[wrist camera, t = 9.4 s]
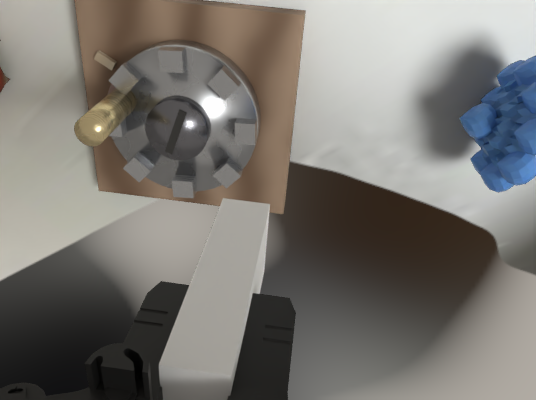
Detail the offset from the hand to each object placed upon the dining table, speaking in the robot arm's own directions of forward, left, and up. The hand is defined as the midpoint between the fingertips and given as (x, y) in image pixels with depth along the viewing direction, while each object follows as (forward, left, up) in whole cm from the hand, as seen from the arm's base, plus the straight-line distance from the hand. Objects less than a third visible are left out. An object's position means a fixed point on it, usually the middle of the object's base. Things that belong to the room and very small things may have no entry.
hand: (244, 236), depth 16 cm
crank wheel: (+10, +9, -30) cm, 33 cm away
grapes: (-17, +5, -33) cm, 37 cm away
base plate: (+10, +9, -32) cm, 35 cm away
